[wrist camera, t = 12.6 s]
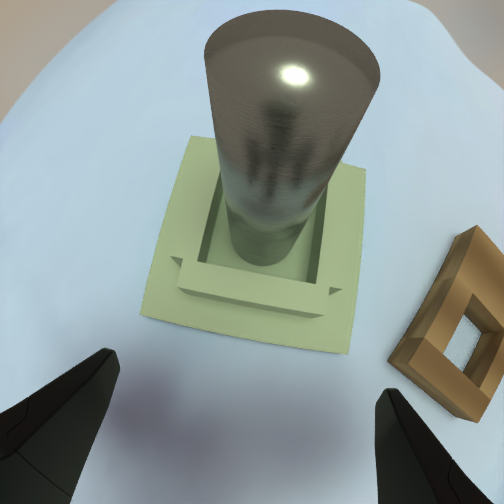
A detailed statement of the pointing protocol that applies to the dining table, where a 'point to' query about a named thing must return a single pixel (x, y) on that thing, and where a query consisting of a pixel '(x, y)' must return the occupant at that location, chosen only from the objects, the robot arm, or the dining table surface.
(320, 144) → the grey glass peg
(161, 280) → the socket stand
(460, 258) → the wooden rectangular frame
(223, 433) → the dining table surface
